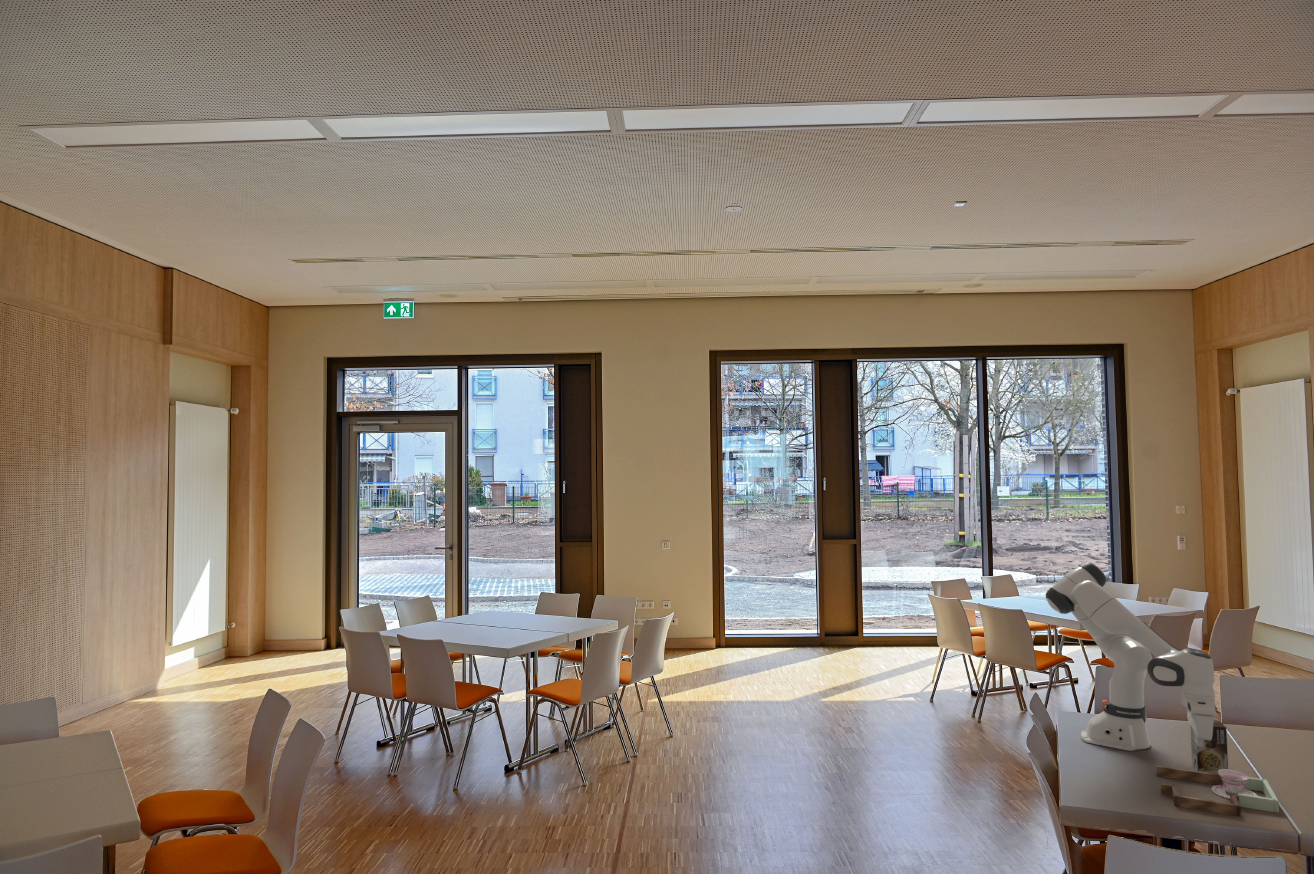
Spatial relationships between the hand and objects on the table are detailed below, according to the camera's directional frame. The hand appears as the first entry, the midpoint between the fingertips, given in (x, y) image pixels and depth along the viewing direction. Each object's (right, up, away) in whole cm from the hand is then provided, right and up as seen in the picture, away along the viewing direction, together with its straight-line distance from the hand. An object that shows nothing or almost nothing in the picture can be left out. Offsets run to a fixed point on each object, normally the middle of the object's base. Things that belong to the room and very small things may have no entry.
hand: (1199, 744), depth 253 cm
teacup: (+8, -14, -4) cm, 17 cm away
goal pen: (+11, -14, -7) cm, 19 cm away
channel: (-3, -14, -4) cm, 15 cm away
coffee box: (+13, -15, +14) cm, 24 cm away
